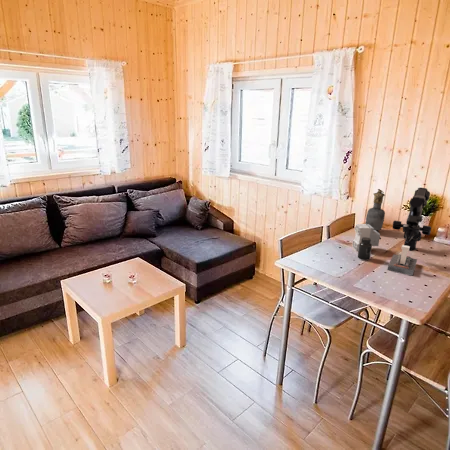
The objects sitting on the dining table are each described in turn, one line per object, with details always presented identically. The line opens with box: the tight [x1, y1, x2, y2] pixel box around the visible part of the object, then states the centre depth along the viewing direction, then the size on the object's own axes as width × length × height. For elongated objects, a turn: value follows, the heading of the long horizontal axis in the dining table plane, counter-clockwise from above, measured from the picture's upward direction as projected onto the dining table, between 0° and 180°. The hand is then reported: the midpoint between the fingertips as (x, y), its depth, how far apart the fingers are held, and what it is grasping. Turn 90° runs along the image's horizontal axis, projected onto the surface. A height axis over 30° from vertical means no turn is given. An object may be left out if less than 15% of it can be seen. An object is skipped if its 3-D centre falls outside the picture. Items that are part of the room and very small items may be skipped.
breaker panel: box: [387, 253, 418, 277], centre depth 188 cm, size 17×12×5 cm
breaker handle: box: [400, 244, 410, 265], centre depth 184 cm, size 3×4×10 cm
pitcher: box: [364, 188, 386, 233], centre depth 239 cm, size 11×19×30 cm, turn 150°
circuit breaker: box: [351, 223, 382, 252], centre depth 209 cm, size 8×14×15 cm, turn 89°
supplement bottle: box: [357, 237, 373, 261], centre depth 197 cm, size 7×7×12 cm
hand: (407, 241), depth 189 cm, fingers closed
